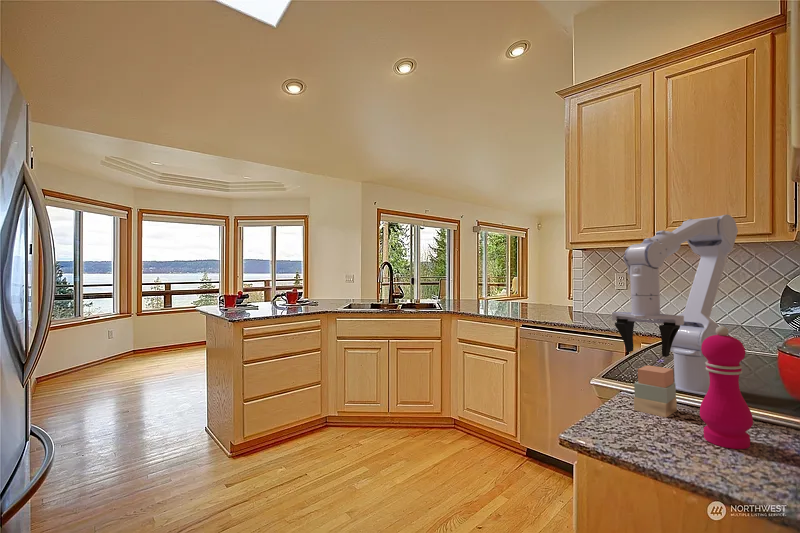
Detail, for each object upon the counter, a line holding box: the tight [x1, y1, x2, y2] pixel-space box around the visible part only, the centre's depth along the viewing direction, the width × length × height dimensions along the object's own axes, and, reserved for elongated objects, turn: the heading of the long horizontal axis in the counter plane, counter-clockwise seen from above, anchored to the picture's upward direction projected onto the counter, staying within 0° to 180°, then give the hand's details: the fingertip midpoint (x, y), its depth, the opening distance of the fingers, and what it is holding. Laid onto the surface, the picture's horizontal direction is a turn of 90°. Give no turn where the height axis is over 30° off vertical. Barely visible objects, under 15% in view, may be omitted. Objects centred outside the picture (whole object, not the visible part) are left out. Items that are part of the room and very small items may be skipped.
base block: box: [633, 396, 678, 418], centre depth 86 cm, size 6×6×3 cm
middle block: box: [633, 381, 677, 403], centre depth 86 cm, size 6×6×3 cm
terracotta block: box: [637, 364, 675, 388], centre depth 86 cm, size 5×5×3 cm
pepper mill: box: [699, 325, 754, 450], centre depth 70 cm, size 7×7×20 cm
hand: (647, 353), depth 93 cm, fingers open, 7 cm apart
